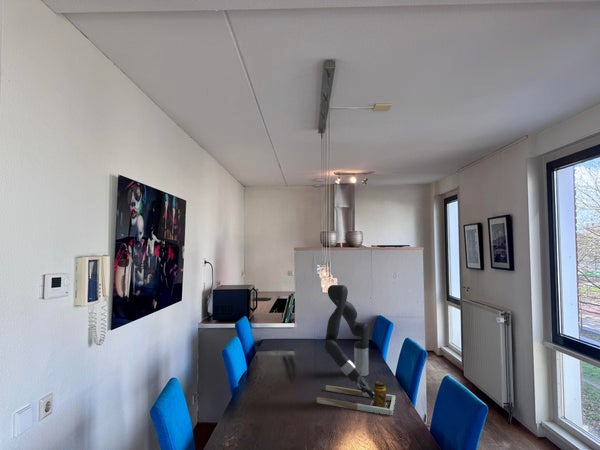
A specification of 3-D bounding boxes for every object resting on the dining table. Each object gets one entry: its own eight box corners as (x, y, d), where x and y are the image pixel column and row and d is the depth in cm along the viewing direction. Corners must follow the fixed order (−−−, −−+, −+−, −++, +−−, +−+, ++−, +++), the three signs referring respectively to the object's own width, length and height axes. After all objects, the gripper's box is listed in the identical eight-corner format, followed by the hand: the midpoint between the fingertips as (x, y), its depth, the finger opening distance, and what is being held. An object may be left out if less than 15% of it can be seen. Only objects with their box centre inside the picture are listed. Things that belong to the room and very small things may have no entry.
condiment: (385, 409, 176) (385, 386, 177) (369, 407, 179) (369, 383, 180) (387, 403, 183) (387, 381, 183) (371, 401, 186) (371, 378, 186)
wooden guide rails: (326, 389, 201) (326, 385, 201) (363, 395, 193) (363, 390, 193) (316, 402, 183) (316, 398, 184) (357, 409, 176) (357, 404, 176)
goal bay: (363, 395, 193) (363, 390, 193) (395, 400, 187) (395, 395, 187) (357, 409, 176) (357, 404, 176) (392, 415, 169) (392, 410, 170)
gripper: (352, 370, 180) (376, 397, 175) (357, 362, 193) (379, 387, 188) (343, 378, 182) (366, 406, 177) (348, 370, 194) (370, 395, 189)
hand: (373, 396), depth 182 cm, fingers closed
